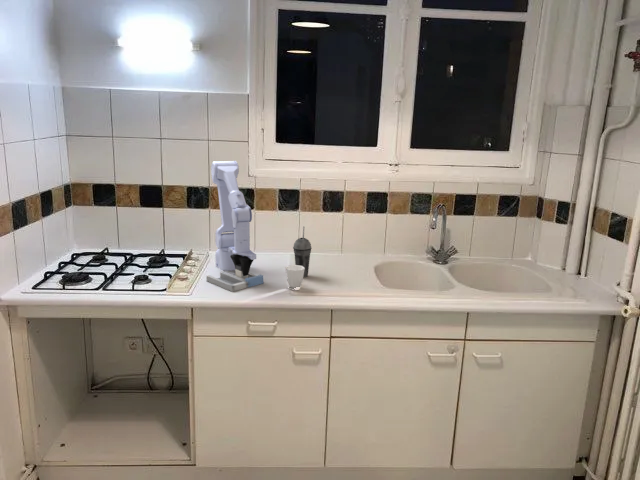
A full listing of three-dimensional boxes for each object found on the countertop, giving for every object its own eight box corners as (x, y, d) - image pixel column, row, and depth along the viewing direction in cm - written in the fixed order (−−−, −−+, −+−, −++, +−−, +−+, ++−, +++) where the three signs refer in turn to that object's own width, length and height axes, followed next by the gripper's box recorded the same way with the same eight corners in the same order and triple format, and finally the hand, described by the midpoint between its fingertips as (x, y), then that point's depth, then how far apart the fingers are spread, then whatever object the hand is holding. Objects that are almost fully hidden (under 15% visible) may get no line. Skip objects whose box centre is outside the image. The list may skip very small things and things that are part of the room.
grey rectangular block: (235, 277, 201) (235, 265, 200) (242, 276, 204) (242, 263, 203) (241, 280, 199) (240, 267, 198) (248, 278, 202) (248, 265, 200)
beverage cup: (289, 277, 210) (290, 227, 205) (297, 272, 216) (298, 224, 211) (306, 279, 207) (307, 229, 202) (313, 274, 214) (314, 226, 209)
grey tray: (205, 283, 200) (205, 273, 199) (238, 275, 210) (238, 265, 209) (231, 294, 189) (231, 283, 188) (264, 285, 199) (264, 275, 198)
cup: (284, 291, 194) (284, 270, 192) (286, 282, 203) (286, 262, 201) (304, 291, 194) (304, 270, 192) (305, 283, 203) (305, 262, 201)
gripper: (221, 237, 200) (222, 271, 203) (245, 244, 190) (245, 280, 194) (236, 234, 205) (237, 268, 208) (260, 241, 195) (260, 276, 198)
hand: (242, 274), depth 201 cm, fingers closed on grey rectangular block, 3 cm apart
